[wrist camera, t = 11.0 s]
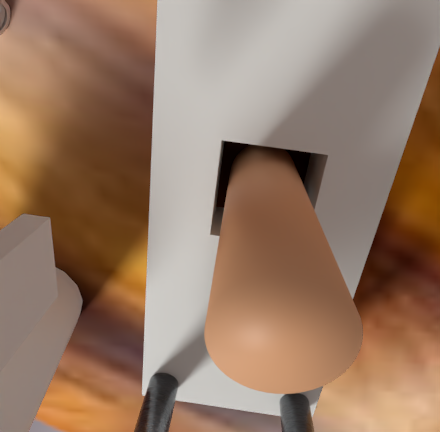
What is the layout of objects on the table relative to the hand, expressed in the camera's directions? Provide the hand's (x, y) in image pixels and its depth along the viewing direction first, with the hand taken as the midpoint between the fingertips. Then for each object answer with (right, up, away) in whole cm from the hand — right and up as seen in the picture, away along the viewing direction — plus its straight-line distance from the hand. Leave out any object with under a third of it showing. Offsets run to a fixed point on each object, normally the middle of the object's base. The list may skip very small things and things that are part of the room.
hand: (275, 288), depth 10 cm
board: (+1, +2, +13) cm, 13 cm away
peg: (+1, +5, +12) cm, 13 cm away
